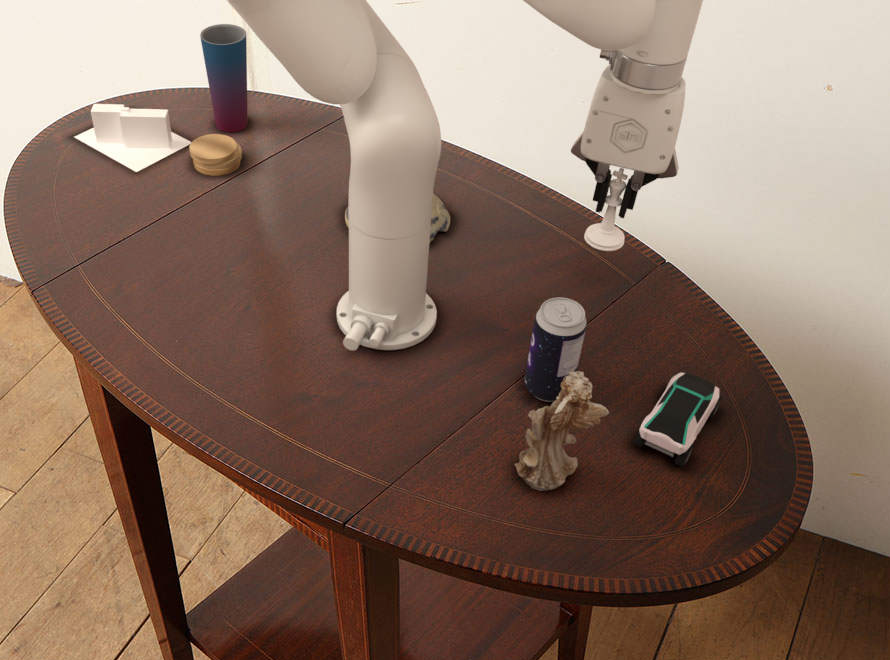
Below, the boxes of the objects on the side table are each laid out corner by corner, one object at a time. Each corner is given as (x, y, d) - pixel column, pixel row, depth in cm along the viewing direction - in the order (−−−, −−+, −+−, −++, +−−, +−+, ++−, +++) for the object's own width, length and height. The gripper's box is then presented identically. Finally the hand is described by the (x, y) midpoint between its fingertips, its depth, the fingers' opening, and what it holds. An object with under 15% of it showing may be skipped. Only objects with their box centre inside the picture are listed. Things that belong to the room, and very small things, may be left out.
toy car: (629, 451, 109) (639, 418, 106) (670, 388, 117) (680, 355, 113) (679, 474, 107) (691, 441, 103) (718, 409, 114) (730, 376, 111)
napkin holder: (193, 142, 153) (189, 108, 149) (137, 172, 146) (131, 138, 142) (129, 109, 159) (123, 76, 155) (72, 137, 153) (65, 104, 149)
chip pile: (228, 181, 145) (226, 163, 143) (183, 170, 147) (180, 152, 145) (250, 155, 150) (248, 138, 148) (206, 145, 152) (204, 128, 150)
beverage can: (563, 370, 118) (579, 292, 110) (577, 403, 114) (595, 325, 106) (517, 375, 118) (530, 297, 109) (530, 408, 114) (545, 331, 105)
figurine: (566, 448, 109) (590, 349, 99) (589, 489, 105) (616, 390, 95) (504, 461, 108) (521, 362, 97) (525, 503, 104) (545, 404, 93)
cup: (234, 140, 154) (226, 48, 143) (201, 127, 156) (190, 36, 146) (262, 121, 158) (255, 31, 147) (228, 109, 160) (220, 19, 150)
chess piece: (612, 256, 119) (630, 185, 112) (576, 240, 121) (592, 170, 114) (631, 238, 122) (650, 168, 115) (595, 222, 124) (612, 153, 117)
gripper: (567, 65, 105) (539, 210, 118) (719, 96, 101) (673, 242, 114) (581, 36, 110) (554, 178, 123) (726, 65, 106) (682, 208, 119)
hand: (612, 208), depth 118 cm, fingers closed on chess piece
